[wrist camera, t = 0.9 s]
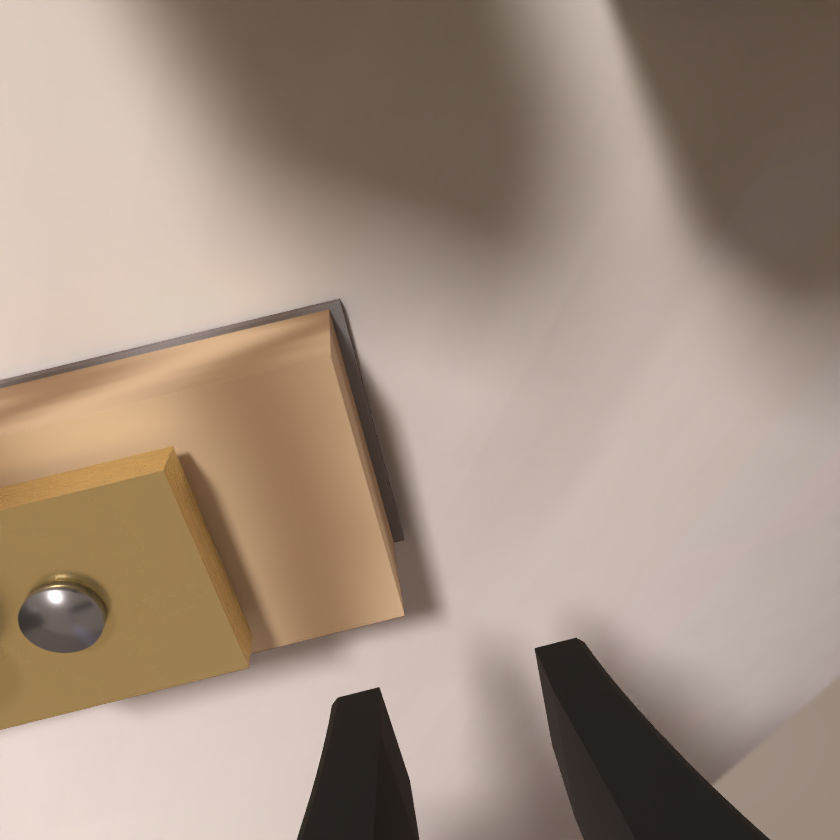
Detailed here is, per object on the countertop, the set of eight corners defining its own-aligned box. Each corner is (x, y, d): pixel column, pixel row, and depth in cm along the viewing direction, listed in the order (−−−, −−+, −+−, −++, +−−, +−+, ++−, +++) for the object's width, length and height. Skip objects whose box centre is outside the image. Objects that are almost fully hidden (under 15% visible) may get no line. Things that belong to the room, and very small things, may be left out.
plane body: (339, 298, 18) (343, 349, 14) (402, 533, 21) (417, 618, 18) (-334, 460, 17) (-482, 549, 14) (-163, 673, 21) (-253, 785, 17)
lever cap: (173, 445, 14) (151, 498, 13) (252, 636, 17) (244, 703, 15) (-172, 529, 14) (-241, 594, 13) (-43, 709, 17) (-86, 786, 15)
